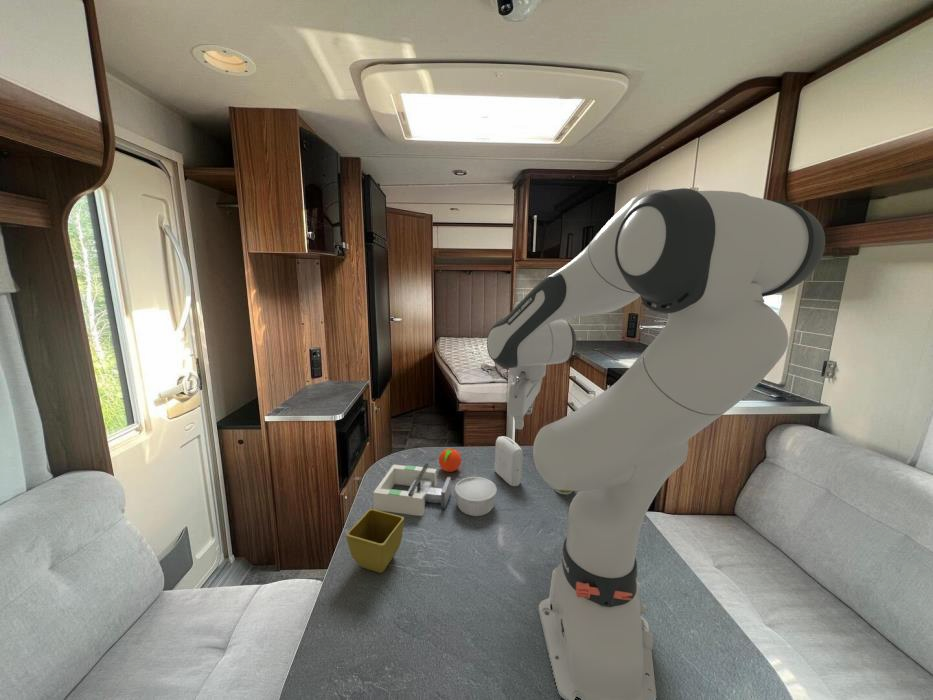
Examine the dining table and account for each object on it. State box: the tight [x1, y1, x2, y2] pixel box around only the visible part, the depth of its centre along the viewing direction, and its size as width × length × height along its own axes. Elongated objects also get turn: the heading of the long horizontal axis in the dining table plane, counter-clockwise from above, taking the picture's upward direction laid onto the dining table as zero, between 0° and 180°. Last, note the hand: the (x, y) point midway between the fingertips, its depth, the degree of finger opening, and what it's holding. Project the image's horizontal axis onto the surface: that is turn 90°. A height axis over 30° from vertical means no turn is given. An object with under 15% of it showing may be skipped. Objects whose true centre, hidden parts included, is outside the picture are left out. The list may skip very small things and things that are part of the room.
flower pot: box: [345, 508, 405, 574], centre depth 76 cm, size 9×9×9 cm
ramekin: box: [454, 476, 498, 517], centre depth 96 cm, size 11×11×5 cm
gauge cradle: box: [372, 464, 438, 517], centre depth 99 cm, size 14×13×5 cm
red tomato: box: [438, 447, 462, 473], centre depth 112 cm, size 8×7×7 cm
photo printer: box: [494, 435, 524, 487], centre depth 108 cm, size 10×4×12 cm, turn 28°
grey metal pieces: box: [407, 462, 452, 510], centre depth 98 cm, size 15×10×6 cm
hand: (523, 420), depth 90 cm, fingers open, 8 cm apart
